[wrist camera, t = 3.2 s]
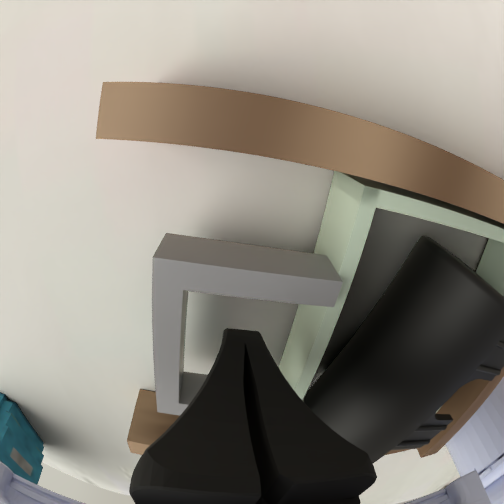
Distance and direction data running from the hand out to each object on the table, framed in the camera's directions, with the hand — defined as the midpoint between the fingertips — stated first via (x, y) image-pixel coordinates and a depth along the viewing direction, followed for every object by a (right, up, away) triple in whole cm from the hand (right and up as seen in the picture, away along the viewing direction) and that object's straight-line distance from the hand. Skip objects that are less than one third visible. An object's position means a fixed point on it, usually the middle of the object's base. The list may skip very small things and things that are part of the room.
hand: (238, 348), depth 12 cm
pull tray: (+5, 0, +3) cm, 6 cm away
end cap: (+8, 0, +4) cm, 9 cm away
